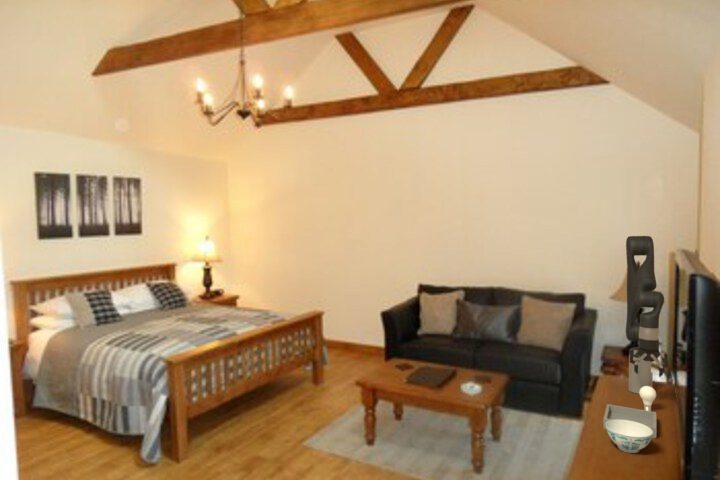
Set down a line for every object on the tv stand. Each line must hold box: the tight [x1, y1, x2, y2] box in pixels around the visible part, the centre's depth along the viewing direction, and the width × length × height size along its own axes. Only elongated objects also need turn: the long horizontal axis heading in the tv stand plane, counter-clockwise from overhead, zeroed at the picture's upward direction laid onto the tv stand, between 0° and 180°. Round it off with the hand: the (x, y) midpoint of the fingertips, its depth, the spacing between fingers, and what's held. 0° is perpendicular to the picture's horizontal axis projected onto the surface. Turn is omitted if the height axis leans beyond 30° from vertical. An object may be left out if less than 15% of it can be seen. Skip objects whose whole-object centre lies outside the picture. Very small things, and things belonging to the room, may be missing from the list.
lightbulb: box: [638, 386, 657, 411], centre depth 212 cm, size 6×6×11 cm
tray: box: [602, 403, 657, 439], centre depth 198 cm, size 18×18×4 cm
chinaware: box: [605, 420, 653, 454], centre depth 178 cm, size 15×15×8 cm
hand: (648, 374), depth 211 cm, fingers open, 8 cm apart
